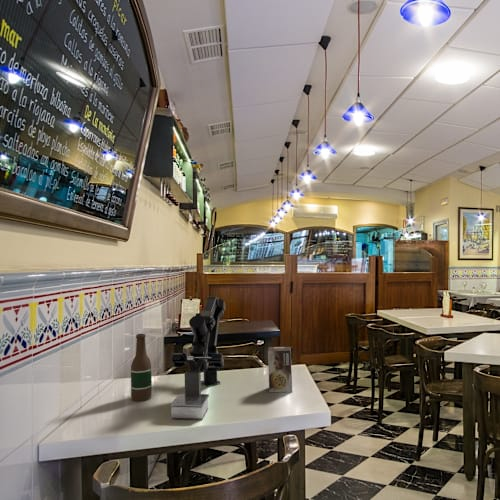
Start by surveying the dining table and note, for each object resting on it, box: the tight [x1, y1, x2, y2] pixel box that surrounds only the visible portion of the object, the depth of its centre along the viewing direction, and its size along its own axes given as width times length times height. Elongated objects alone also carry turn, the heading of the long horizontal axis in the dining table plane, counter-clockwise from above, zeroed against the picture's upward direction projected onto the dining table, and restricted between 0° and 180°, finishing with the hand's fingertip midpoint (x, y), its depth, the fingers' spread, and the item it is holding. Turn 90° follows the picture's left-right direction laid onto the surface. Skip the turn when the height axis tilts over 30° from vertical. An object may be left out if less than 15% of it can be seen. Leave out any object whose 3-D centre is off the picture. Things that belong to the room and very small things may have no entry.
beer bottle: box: [130, 333, 153, 403], centre depth 141 cm, size 8×8×24 cm
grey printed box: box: [267, 346, 293, 393], centre depth 146 cm, size 9×6×16 cm
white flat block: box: [170, 398, 209, 421], centre depth 124 cm, size 9×10×4 cm
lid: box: [170, 370, 210, 407], centre depth 125 cm, size 10×11×9 cm
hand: (193, 382), depth 130 cm, fingers closed, pressing on lid
